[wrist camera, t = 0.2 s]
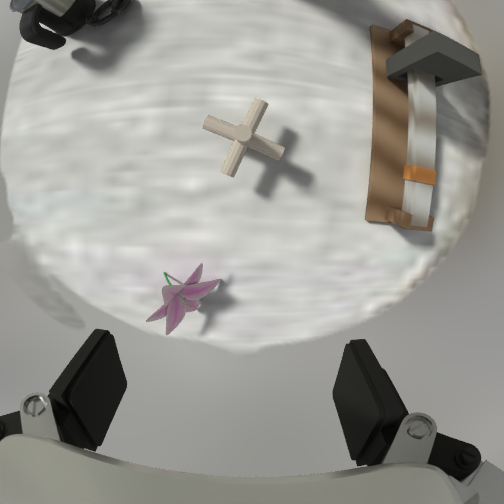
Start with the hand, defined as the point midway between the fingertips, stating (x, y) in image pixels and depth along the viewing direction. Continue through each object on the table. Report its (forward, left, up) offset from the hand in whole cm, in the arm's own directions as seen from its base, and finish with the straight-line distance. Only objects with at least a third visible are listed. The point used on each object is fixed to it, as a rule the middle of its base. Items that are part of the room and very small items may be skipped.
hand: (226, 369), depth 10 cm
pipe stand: (-17, +24, -31) cm, 42 cm away
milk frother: (-37, -28, -31) cm, 56 cm away
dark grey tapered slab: (-25, +24, -30) cm, 45 cm away
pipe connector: (-11, 0, -31) cm, 33 cm away
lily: (+11, -8, -31) cm, 34 cm away
